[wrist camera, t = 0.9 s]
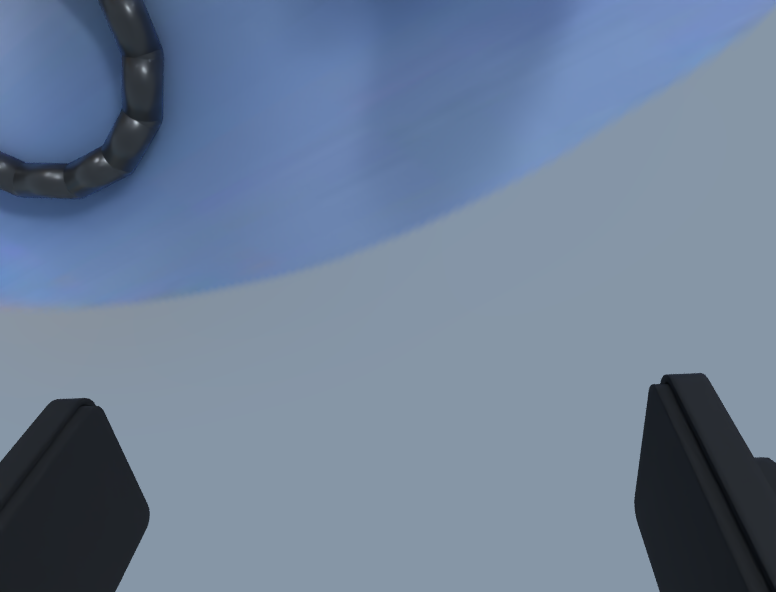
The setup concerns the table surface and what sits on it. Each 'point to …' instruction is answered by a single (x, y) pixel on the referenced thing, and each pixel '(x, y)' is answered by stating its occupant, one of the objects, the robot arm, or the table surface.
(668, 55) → the table surface
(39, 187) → the beaded ring
